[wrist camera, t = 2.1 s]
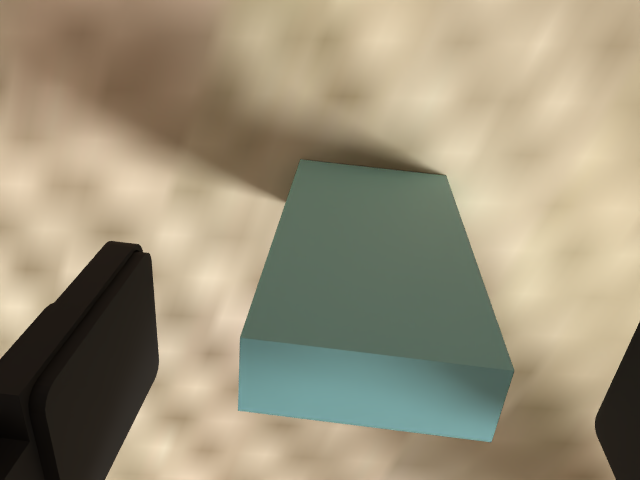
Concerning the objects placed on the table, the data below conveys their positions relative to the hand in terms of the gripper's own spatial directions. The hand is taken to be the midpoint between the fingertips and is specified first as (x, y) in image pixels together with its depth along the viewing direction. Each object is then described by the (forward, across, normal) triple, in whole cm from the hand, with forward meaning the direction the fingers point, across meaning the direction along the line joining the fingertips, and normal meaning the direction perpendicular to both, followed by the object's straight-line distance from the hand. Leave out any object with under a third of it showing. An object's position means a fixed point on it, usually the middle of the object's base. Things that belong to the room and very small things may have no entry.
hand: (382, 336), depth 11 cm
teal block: (+9, 0, +1) cm, 9 cm away
